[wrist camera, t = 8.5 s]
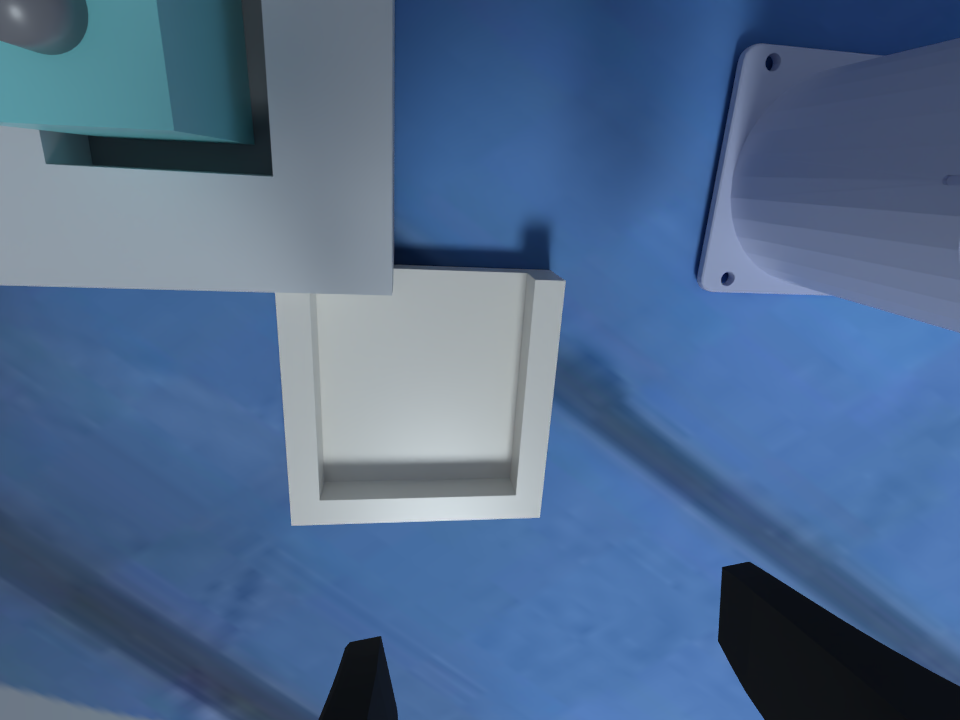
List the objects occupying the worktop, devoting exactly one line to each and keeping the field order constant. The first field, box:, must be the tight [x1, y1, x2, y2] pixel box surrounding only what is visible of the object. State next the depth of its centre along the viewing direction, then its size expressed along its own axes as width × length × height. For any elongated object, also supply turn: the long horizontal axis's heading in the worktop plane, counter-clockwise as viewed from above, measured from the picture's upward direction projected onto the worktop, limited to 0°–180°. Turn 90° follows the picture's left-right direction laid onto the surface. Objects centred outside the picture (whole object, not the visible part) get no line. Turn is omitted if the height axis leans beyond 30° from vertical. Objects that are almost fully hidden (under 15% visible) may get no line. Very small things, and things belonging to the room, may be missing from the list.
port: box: [0, 0, 395, 296], centre depth 14 cm, size 12×12×3 cm
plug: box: [0, 0, 255, 145], centre depth 12 cm, size 4×4×7 cm
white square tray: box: [275, 265, 566, 526], centre depth 19 cm, size 9×9×2 cm
